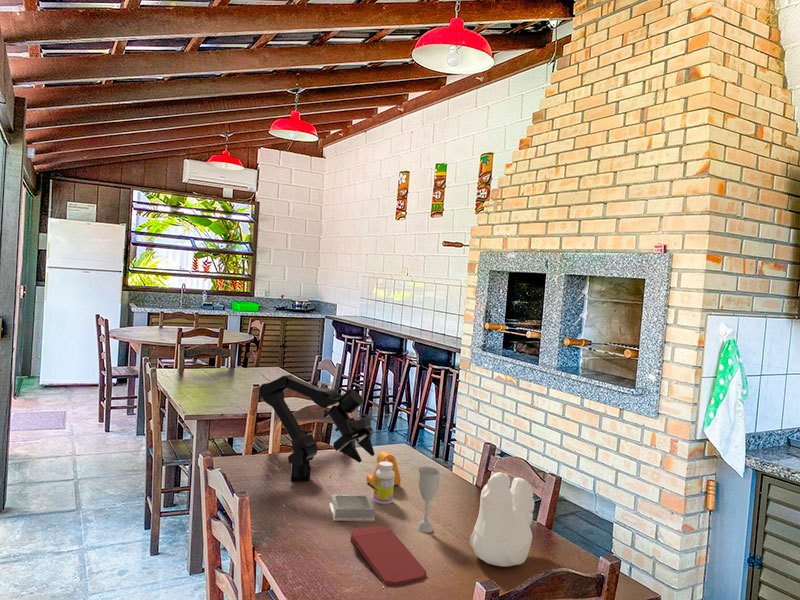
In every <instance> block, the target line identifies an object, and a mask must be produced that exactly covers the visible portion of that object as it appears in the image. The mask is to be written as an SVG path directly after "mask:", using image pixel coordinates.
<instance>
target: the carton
mask: <svg viewBox="0 0 800 600" xmlns="http://www.w3.org/2000/svg"><path fill="white" fill-rule="evenodd" d="M350 535H351V536H350V543H351V544H352V545H355V546H356V548H357V549H358V551H359V552H360V553H361V555H362V557H363V558H364V559H365V561H366V562H367V563H368V564H369V566H370V567H371V569H372V570H373V571H374V573H375V575H377V578H379V580H380V579H381V580H380V581H381V582H382V583H383V582H384V583H383V584H384V585H385V584H390V585H389V586H399V585H403V584H404V585H405V584H408V583H412V582H418V581H422V579H424V578H425V577H426V576H427V570H426V569H424V567H423V566H422V565H421V563H420V562H419V561H418V560H417V558H416V557H415V556H414V555H413V553H412V552H411V551H409V549H408V548H407V547H406V545H405V544H404V543H403V542H402V540H401V539H400V538H399V536H397V535H396V533H394V531H393V530H391V529H389V528H387V527H385V526H383V525H371V526H365V527H359V528H358V527H357V528H354V529H353V528H352V529H351V534H350Z"/></svg>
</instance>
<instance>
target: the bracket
mask: <svg viewBox="0 0 800 600" xmlns="http://www.w3.org/2000/svg"><path fill="white" fill-rule="evenodd" d="M376 462H377V465H376V467H375V470H374V472H373V473H372V474H371V473H370V474H366V482H367V483H369V484H370V485H371V486H372V487H373V488H374V483H375V473H376V471H377V470H378V469H379V463H380V462H391V463H392V464H393V468H392V471H393V472H394V473H395V478H394V486H396V485H397V486H398V485H401V481H402V480H401V476H400V471H399V467H398V464H397V460H396V458H395V456H394V455H393V454H391V453H389V451H386V450H383V451H380V452H379V453H378V454H377V458H376Z"/></svg>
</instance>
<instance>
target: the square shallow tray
mask: <svg viewBox="0 0 800 600" xmlns="http://www.w3.org/2000/svg"><path fill="white" fill-rule="evenodd" d="M328 506H329V510H331V511H330V514H332V515H331V519H332V518H333V519H332V522H333V521H356V522H376V518H375V508H374V505H373V503H372V501H371V499H370V495H369V494H336V493H335V494H331V499H330V502H329V503H328Z"/></svg>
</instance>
